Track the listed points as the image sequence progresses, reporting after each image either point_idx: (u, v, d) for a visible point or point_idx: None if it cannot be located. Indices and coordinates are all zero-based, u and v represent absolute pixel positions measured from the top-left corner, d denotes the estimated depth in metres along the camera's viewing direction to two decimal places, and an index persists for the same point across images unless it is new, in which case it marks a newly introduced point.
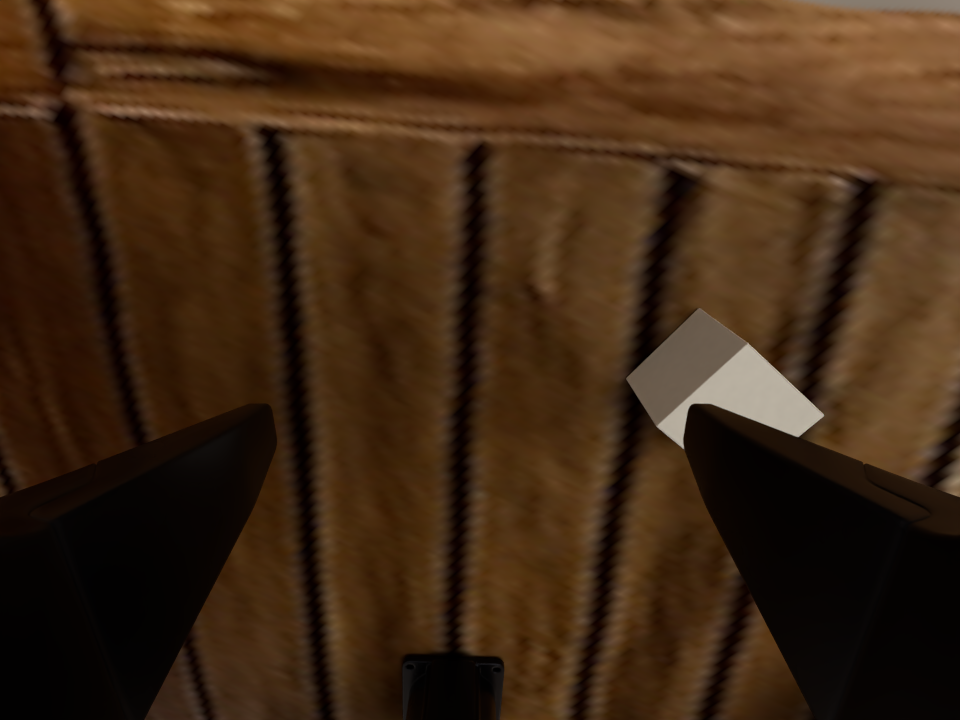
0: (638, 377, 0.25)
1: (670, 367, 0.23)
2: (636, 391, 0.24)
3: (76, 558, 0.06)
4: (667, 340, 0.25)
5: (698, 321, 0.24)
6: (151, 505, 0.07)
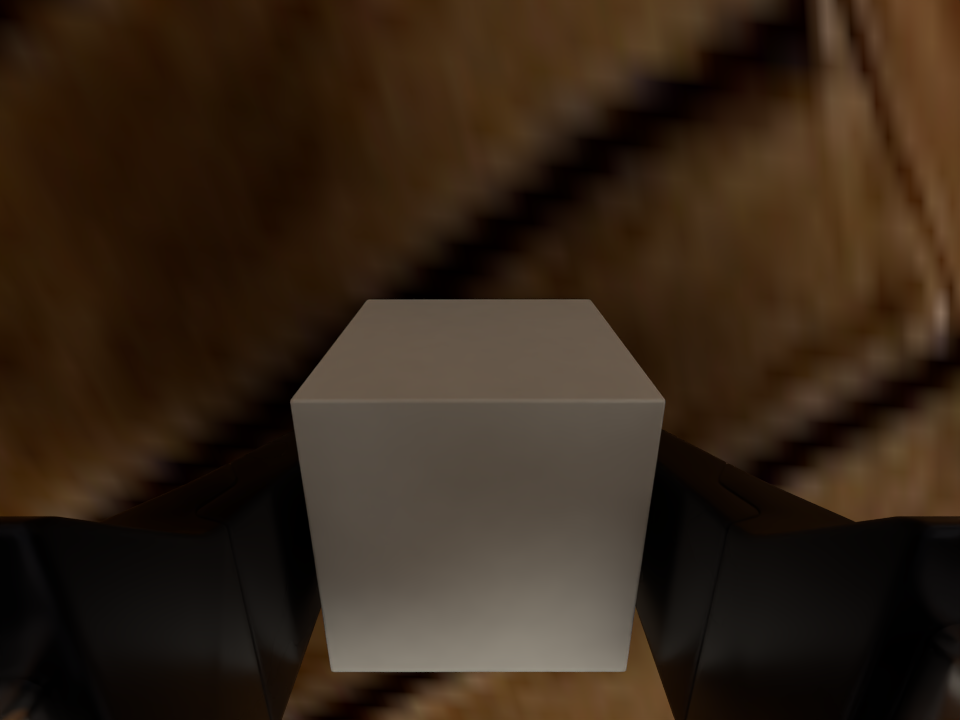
0: (386, 310, 0.10)
1: (453, 332, 0.09)
2: (353, 323, 0.10)
3: (240, 558, 0.06)
4: (494, 301, 0.11)
5: (573, 311, 0.10)
6: (290, 505, 0.07)
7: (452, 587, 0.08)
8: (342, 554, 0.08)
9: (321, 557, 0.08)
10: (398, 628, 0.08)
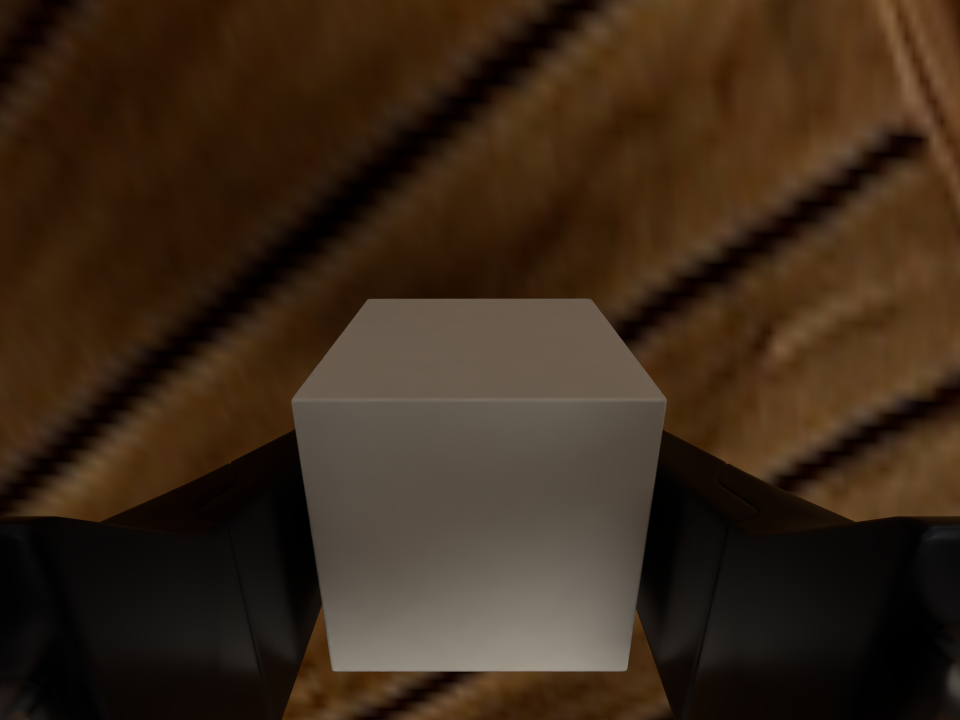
0: (387, 309, 0.10)
1: (454, 331, 0.09)
2: (354, 323, 0.10)
3: (240, 558, 0.06)
4: (494, 300, 0.11)
5: (574, 310, 0.10)
6: (290, 505, 0.07)
7: (453, 586, 0.08)
8: (343, 553, 0.08)
9: (321, 556, 0.08)
10: (399, 628, 0.08)
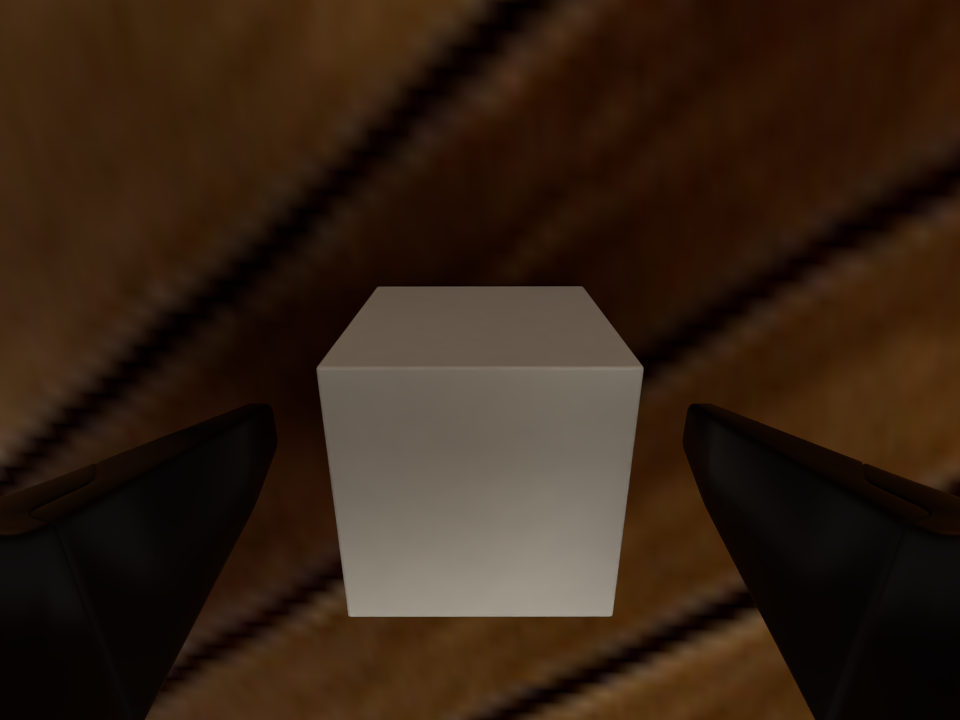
0: (396, 295, 0.11)
1: (458, 314, 0.10)
2: (366, 307, 0.11)
3: (77, 558, 0.06)
4: (494, 288, 0.12)
5: (566, 296, 0.11)
6: (152, 505, 0.07)
7: (456, 537, 0.09)
8: (360, 507, 0.09)
9: (341, 510, 0.09)
10: (408, 575, 0.09)
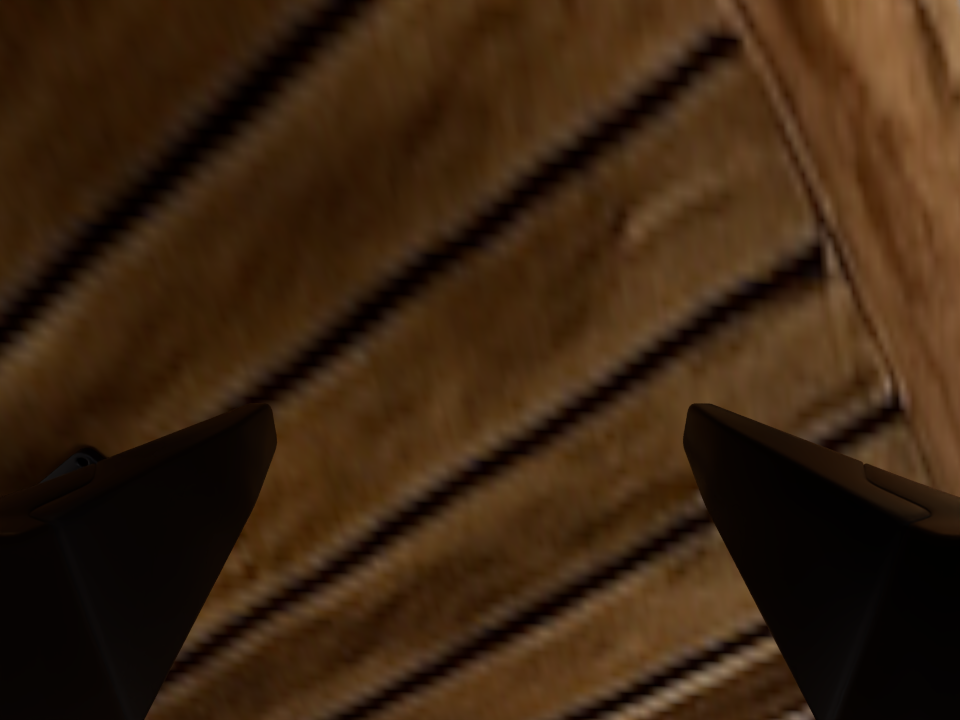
0: None
1: None
2: None
3: (76, 558, 0.06)
4: None
5: None
6: (151, 505, 0.07)
7: None
8: None
9: None
10: None
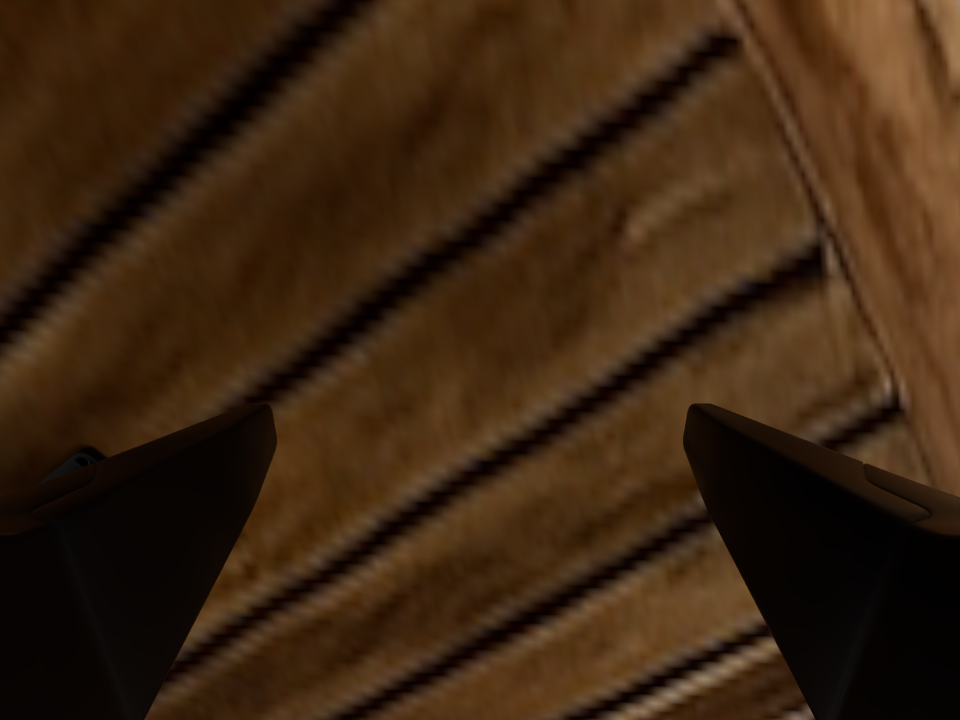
0: None
1: None
2: None
3: (76, 558, 0.06)
4: None
5: None
6: (151, 505, 0.07)
7: None
8: None
9: None
10: None
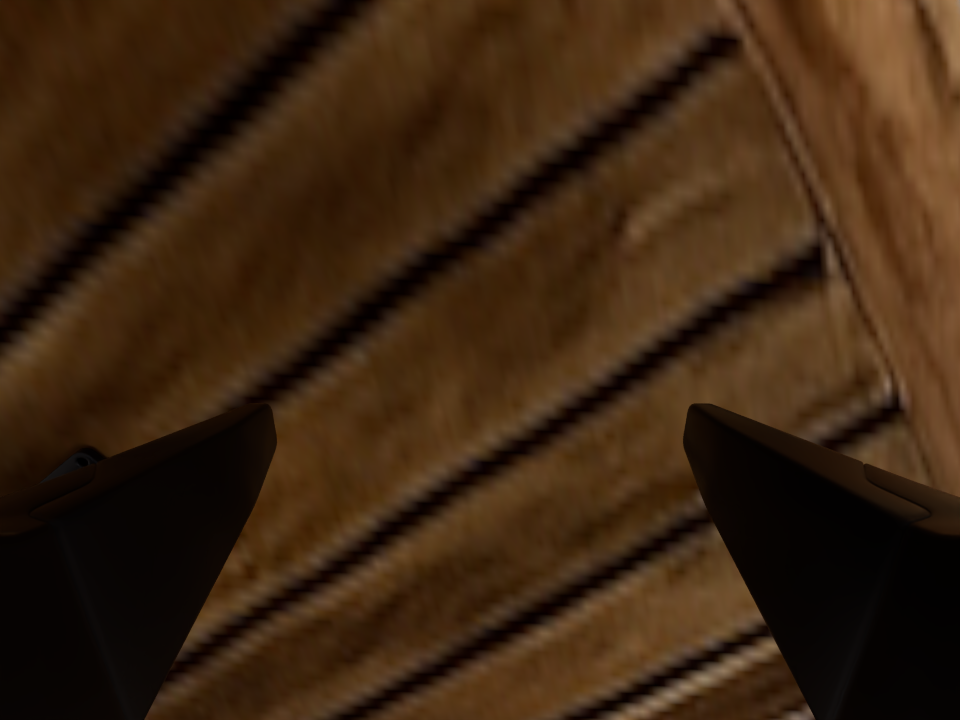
0: None
1: None
2: None
3: (76, 558, 0.06)
4: None
5: None
6: (151, 505, 0.07)
7: None
8: None
9: None
10: None
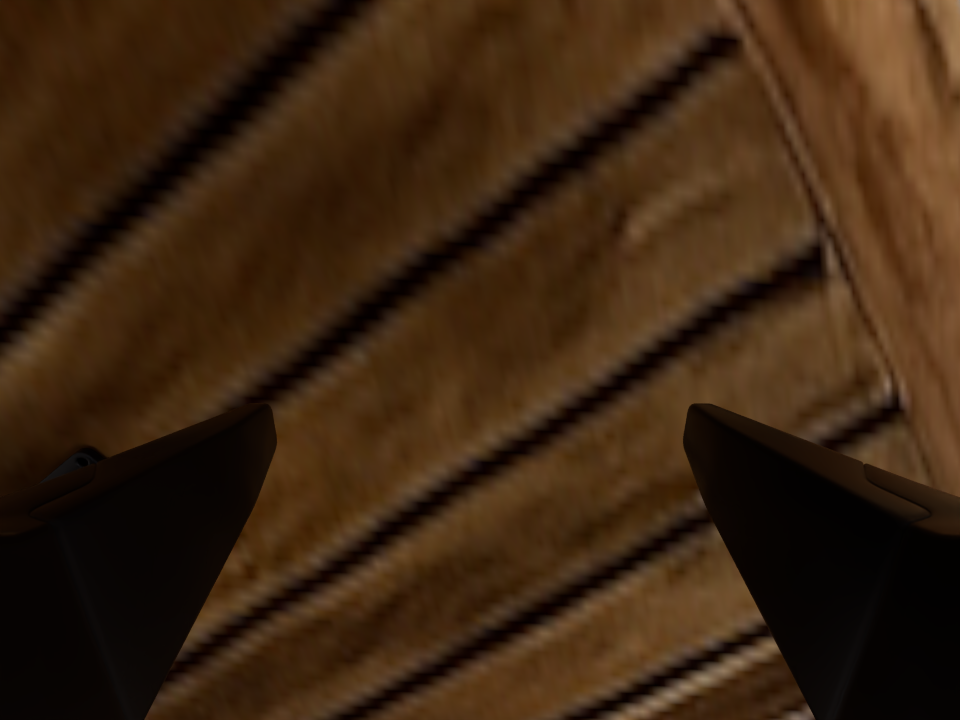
0: None
1: None
2: None
3: (76, 558, 0.06)
4: None
5: None
6: (151, 505, 0.07)
7: None
8: None
9: None
10: None
